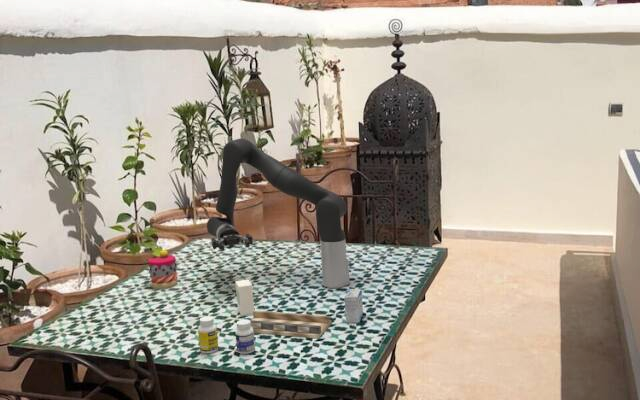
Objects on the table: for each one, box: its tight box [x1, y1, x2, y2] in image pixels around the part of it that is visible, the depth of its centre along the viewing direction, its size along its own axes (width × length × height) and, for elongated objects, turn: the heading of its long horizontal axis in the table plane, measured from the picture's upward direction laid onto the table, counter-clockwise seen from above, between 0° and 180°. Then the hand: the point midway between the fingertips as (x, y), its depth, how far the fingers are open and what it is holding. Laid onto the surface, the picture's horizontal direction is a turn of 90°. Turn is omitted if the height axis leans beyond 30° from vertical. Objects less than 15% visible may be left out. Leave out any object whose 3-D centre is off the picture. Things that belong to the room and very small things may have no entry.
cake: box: [147, 245, 179, 290], centre depth 260 cm, size 10×11×15 cm
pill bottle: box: [234, 318, 256, 355], centre depth 195 cm, size 5×5×9 cm
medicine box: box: [344, 288, 364, 324], centre depth 214 cm, size 8×4×9 cm, turn 168°
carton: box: [235, 279, 255, 317], centre depth 227 cm, size 4×6×10 cm
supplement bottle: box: [197, 315, 219, 354], centre depth 197 cm, size 5×5×10 cm
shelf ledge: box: [249, 310, 332, 339], centre depth 211 cm, size 26×12×3 cm, turn 70°
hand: (235, 246), depth 234 cm, fingers open, 8 cm apart
